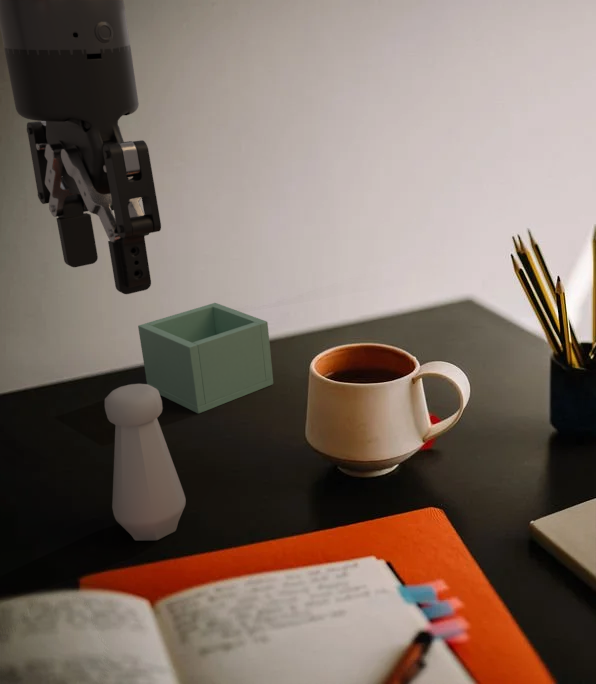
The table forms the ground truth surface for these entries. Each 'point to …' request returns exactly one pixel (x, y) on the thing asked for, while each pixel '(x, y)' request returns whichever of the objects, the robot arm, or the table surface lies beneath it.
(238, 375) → the green open box
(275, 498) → the table surface
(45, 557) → the table surface
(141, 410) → the salt shaker
